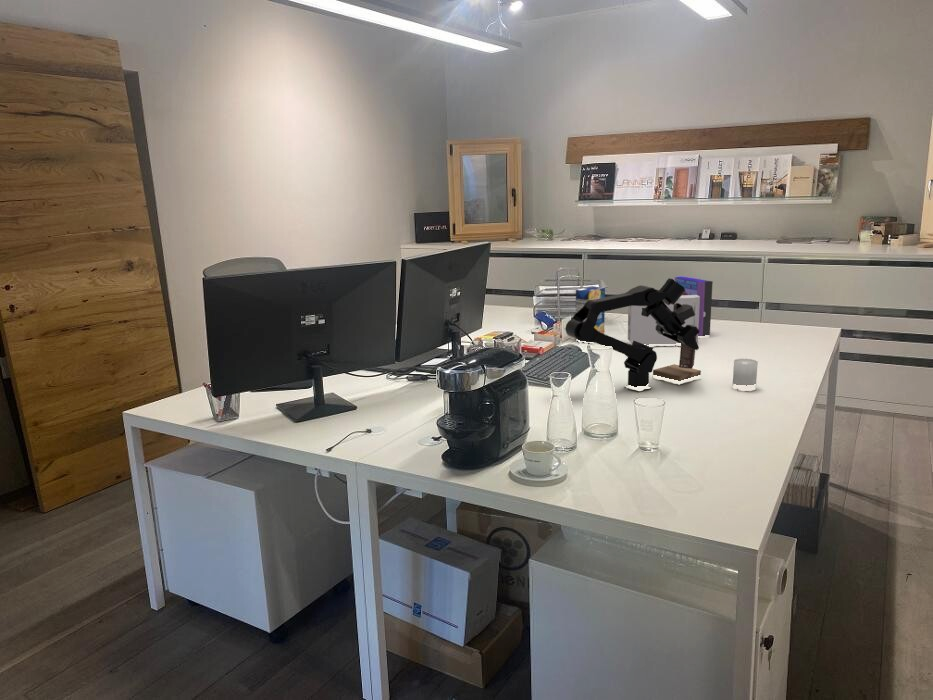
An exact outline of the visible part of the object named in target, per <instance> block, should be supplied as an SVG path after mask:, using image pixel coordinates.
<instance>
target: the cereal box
mask: <svg viewBox="0 0 933 700" xmlns="http://www.w3.org/2000/svg"><path fill="white" fill-rule="evenodd" d="M673 280H674V281H675V282H677V283H679V284H680V285H682V286H683V287H684V288H685V292H684V293H683V295H698V296H700V305H699V306H700V307H699V327H698V329H699V330H700V332H699V333H698V336H705V335H710V336H711V318H712V301H713V283H714V281H713V280H706V279H701V278H699V279H698V278H694V277H687V276H675V277H674V279H673Z"/></svg>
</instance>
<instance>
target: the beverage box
mask: <svg viewBox="0 0 933 700" xmlns="http://www.w3.org/2000/svg"><path fill="white" fill-rule="evenodd" d="M605 297H606V287H599V286H588V287H584V288H578V289H575V314H576V313H577V312H578V311H579V310H580V309H581V308H582V307H583V306H584V305H585V303H586V302H587V301H589V300H595V299H600V298H605ZM605 313H606V311H605V312H601V313H600V314H599V316H598V319H597V322H596V325H595V327H594V328H595V329H596V330H598V331H599V332H600V333H603V334H605V315H606V314H605ZM586 319H587V318H586ZM586 319H585V320H586ZM585 320H583V322H585Z"/></svg>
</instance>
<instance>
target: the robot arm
mask: <svg viewBox="0 0 933 700" xmlns="http://www.w3.org/2000/svg"><path fill="white" fill-rule="evenodd" d="M684 292H685V288H684V287H683V286H682V285H680V284H679V283H677V282H675V281H674V279H673V278H669V277H668V279H666V281H665V282H664V284H663V285H662V286H661V288H660V289H656V288H654V287H650V286H648V285H647V286H646V285H637V286H635V287H632V288H630V289H628V291H626V292H624V293H620V294H614V295H610V296H609V295H608V296H605V298H600V299H595V300H589V301H587V302H586V303H585V305H584V306H583V307H582V308H581V309H580V310H579V311H578V312H577V313H576V312H575V314H573V316H572V317H571V319H569V320H568V321H567V323H566V326H565V333H566V335H567V336H569V337H571V338H574V339H575V340H576V339H578V340H580V341H586V342H594V343H595V344H597V345H600V346H602V345H605V346H612V347H613V351H616V353H617V352H618V353H621V354H623V355H625V357H627V358H626V359H625V361H624V362H623V364H624V367H625V368H626V369H629V370H628V371H627V385H631V386H634V387H637V386H646V385H647V384H648V383H649V384H650V373H653V370H654V367H655V364H656V362H657V360H658V358H657V357H658V355H657V352H656V351H655V350H654V347H649V346H647V345H644V344H642V343H639V342H636V341H634V340H633V344H632V343H628V342H625V341H622V340H620V339H617V338H615V337H612V336H610V335H608V334H605V333H604V334H603V333H600V332H599V331H598V330H596V329H595V328H594V327H595V325H596V322H597V319H598V316H599V314H600V313H601V312H605V313H606V312H609V311H612V310H613V311H614V310H618V309H622V308H627V307H628V306H646V307H645V308H642V313H641V315H642V316H646V317H648V316H649V315H651V316H652V317H653V318H654V319H655V320H656V322H655V323H656V324H657V325H656V331H657V332H658V333H659V334H661V335H663V336H665V337H667V338H669V339H672V340H674V341H676V342H678V343H682V344H684V345H686V346H688V347H691V348H693V349H695V351H698V350H699V349H700V346H699V344H697V342H696V339H695V336H696V335H697V334H698V333H699V332H700V330H699V329H698V328H697V327H696V326H693V325H686V326H685V327H683V326H682V325H684V324H685V323H686V322H685V321H684V320H686V319H688V318H690V317H693V316H695V312H694V310H693V307H692V306H691V305H688V304H683V306H682V305H681V304H679V303H676V301H677V300H678V299H679V298H680V297H681V296H682V295H683V293H684ZM675 303H676V304H675ZM666 304H667V305H670V304H672V305H674V308H673V311H671V310H670V309H669V308H668V307H667V306H666ZM586 318H587V319H586ZM585 319H586V320H585ZM583 320H585V322H583ZM663 332H664V333H663ZM605 346H604V347H605Z"/></svg>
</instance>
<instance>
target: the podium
mask: <svg viewBox="0 0 933 700" xmlns="http://www.w3.org/2000/svg"><path fill="white" fill-rule="evenodd" d="M701 373H702V371H701V369H695V368H692V369H687V368H679V364H675V363H674V364H670V365H666V366H663V367H659V368H655V369H653V370H652V376H653V375H657V376H661V377H665V378H669V379H674V380H678V381H681V380H684V379H688V378H691V377H694V376H698V375H701V376H702V374H701Z"/></svg>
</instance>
